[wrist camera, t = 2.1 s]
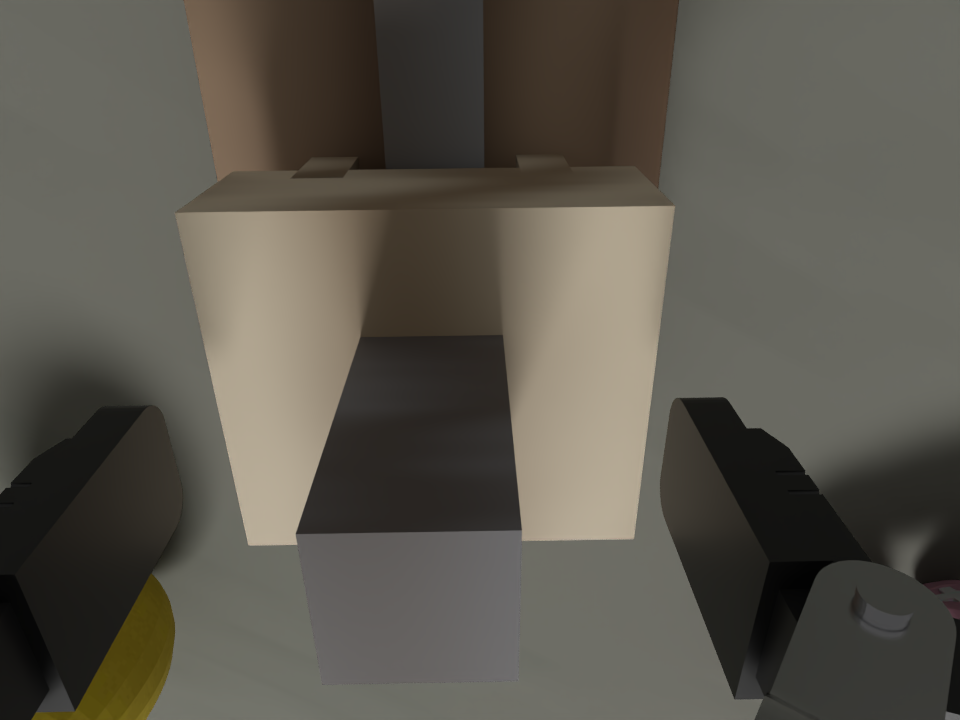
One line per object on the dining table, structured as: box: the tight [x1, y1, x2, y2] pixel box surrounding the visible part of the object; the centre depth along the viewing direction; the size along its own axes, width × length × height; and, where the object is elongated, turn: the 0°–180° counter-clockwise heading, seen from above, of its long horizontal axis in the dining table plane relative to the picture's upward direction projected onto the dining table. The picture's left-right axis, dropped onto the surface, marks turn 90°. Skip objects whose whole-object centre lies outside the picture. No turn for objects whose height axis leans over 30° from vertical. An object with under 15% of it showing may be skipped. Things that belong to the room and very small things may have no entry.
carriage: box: [175, 154, 675, 685], centre depth 12 cm, size 8×7×9 cm
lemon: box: [32, 574, 175, 720], centre depth 19 cm, size 6×6×8 cm
